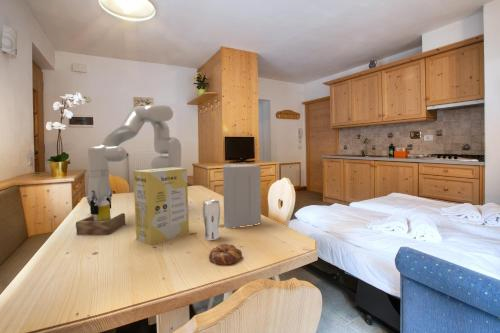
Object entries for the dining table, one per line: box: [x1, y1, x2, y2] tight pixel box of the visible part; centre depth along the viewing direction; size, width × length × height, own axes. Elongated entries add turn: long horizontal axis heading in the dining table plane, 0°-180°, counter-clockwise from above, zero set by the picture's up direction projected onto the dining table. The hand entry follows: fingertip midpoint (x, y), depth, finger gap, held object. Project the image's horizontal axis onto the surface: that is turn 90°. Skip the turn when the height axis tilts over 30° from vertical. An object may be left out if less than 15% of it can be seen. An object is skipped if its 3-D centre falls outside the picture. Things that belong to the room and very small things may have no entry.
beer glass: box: [202, 199, 221, 241], centre depth 103 cm, size 7×7×15 cm
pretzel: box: [208, 243, 243, 266], centre depth 86 cm, size 12×11×4 cm
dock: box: [75, 213, 126, 236], centre depth 116 cm, size 14×14×6 cm
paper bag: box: [222, 163, 262, 229], centre depth 121 cm, size 19×15×28 cm
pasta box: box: [132, 167, 190, 246], centre depth 106 cm, size 18×10×28 cm, turn 143°
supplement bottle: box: [94, 196, 112, 221], centre depth 116 cm, size 7×7×13 cm
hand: (101, 211), depth 116 cm, fingers open, 9 cm apart
